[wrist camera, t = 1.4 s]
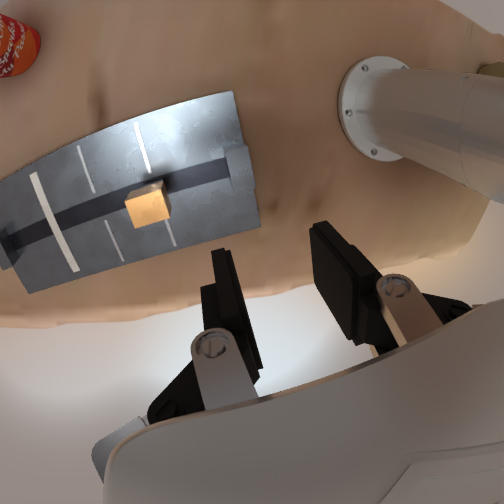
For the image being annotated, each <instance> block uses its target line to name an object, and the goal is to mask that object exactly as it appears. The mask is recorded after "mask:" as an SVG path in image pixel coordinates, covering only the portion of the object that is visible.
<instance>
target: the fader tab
mask: <svg viewBox="0 0 504 504" xmlns="http://www.w3.org/2000/svg"><path fill="white" fill-rule="evenodd" d="M124 202H125V204H126V207H127V210H128V212H129V215H130V217H131V220H132V222H133V225H134V227H135V229H136V228H139V227H142V226H145V225H148V224H152V223H155V222H158V221H162V220H165V219H168V218H170V216H171V209H172V206H171V203H170V200H169V197H168V194H167V190H166V187H165V184H164V181H163V179H160V180H157V181H154V182H151V183H148V184H145V185H142V187H141V188H140V189H137V190H134V191H131V192H130V193H129V195H128V196H127V198H126V200H125V201H124Z"/></svg>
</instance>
